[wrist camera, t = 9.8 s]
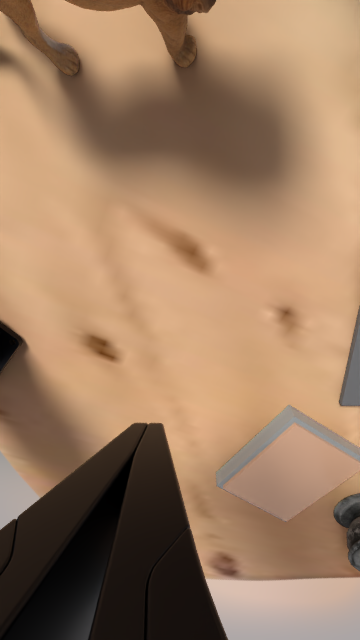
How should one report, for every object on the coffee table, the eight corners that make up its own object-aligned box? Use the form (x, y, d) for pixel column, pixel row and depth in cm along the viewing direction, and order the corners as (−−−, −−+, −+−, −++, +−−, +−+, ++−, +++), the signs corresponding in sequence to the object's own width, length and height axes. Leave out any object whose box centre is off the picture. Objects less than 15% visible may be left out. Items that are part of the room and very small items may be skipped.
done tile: (280, 502, 27) (286, 525, 25) (215, 467, 26) (216, 489, 24) (359, 444, 23) (373, 466, 21) (287, 400, 22) (295, 419, 20)
